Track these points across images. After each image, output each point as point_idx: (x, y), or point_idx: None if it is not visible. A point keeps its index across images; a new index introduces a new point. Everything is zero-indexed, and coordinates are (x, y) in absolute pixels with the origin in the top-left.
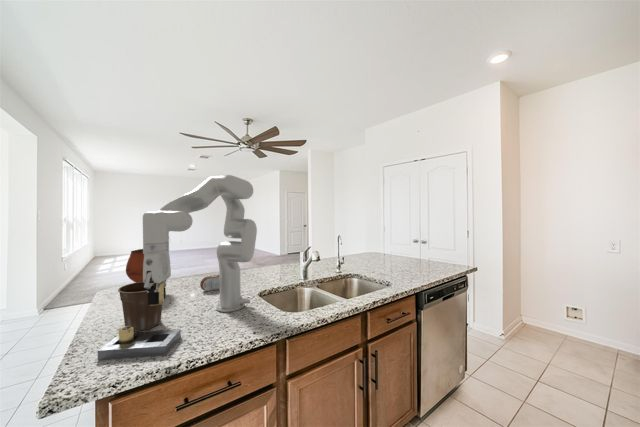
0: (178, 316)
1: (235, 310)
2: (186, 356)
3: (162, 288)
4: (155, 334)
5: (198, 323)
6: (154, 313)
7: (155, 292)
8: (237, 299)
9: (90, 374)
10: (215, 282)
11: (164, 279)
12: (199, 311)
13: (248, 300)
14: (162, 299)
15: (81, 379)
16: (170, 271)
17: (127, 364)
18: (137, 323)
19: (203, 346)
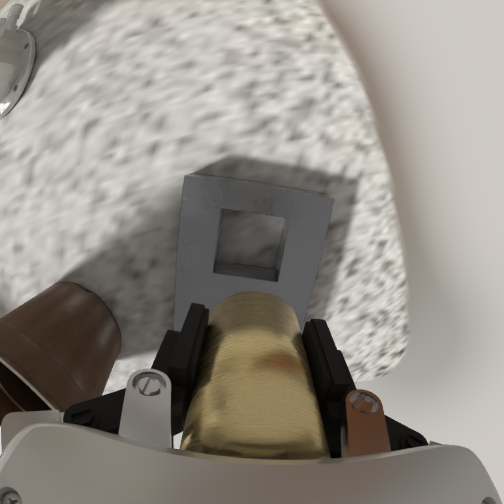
0: (27, 235)
1: (34, 42)
2: (353, 126)
3: (279, 386)
4: (212, 266)
5: (85, 139)
6: (71, 315)
7: (370, 397)
8: (2, 36)
9: (348, 352)
10: None
11: (332, 475)
12: (4, 174)
13: (16, 7)
14: (275, 313)
15: (361, 358)
16: (9, 484)
17: (337, 292)
18: (111, 346)
19: (298, 76)
